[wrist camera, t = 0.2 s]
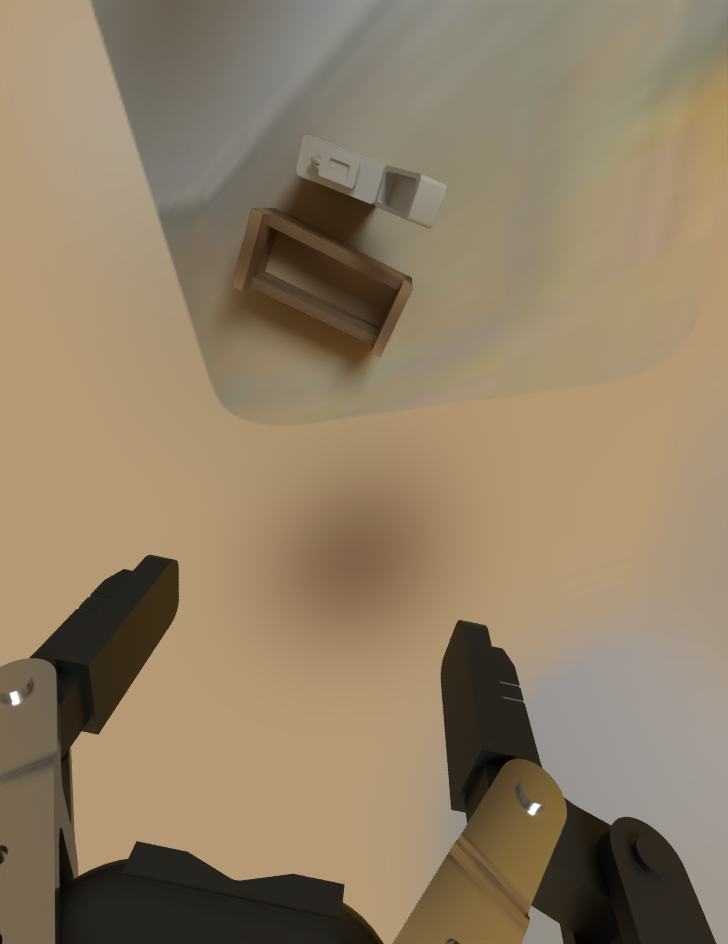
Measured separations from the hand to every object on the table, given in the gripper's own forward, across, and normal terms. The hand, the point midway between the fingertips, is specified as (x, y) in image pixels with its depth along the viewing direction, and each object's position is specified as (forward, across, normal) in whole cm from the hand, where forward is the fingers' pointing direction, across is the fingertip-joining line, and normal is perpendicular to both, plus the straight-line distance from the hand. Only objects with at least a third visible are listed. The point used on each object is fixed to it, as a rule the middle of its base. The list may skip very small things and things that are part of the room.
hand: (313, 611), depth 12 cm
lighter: (+21, +2, -13) cm, 24 cm away
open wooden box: (+21, +4, -8) cm, 22 cm away
